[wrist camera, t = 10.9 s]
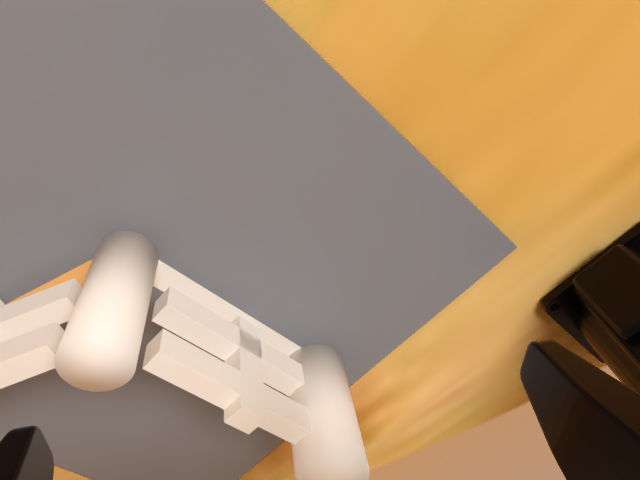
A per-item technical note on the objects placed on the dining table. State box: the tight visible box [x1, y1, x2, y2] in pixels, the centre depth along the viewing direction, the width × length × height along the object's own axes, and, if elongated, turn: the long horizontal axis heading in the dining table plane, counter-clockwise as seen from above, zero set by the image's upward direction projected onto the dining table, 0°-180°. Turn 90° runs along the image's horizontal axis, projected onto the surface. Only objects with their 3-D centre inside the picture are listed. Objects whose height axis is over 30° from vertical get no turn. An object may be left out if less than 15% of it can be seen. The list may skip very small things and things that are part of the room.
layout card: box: [0, 0, 517, 480], centre depth 22 cm, size 26×24×1 cm
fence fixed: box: [54, 231, 370, 480], centre depth 22 cm, size 13×3×6 cm, turn 46°
